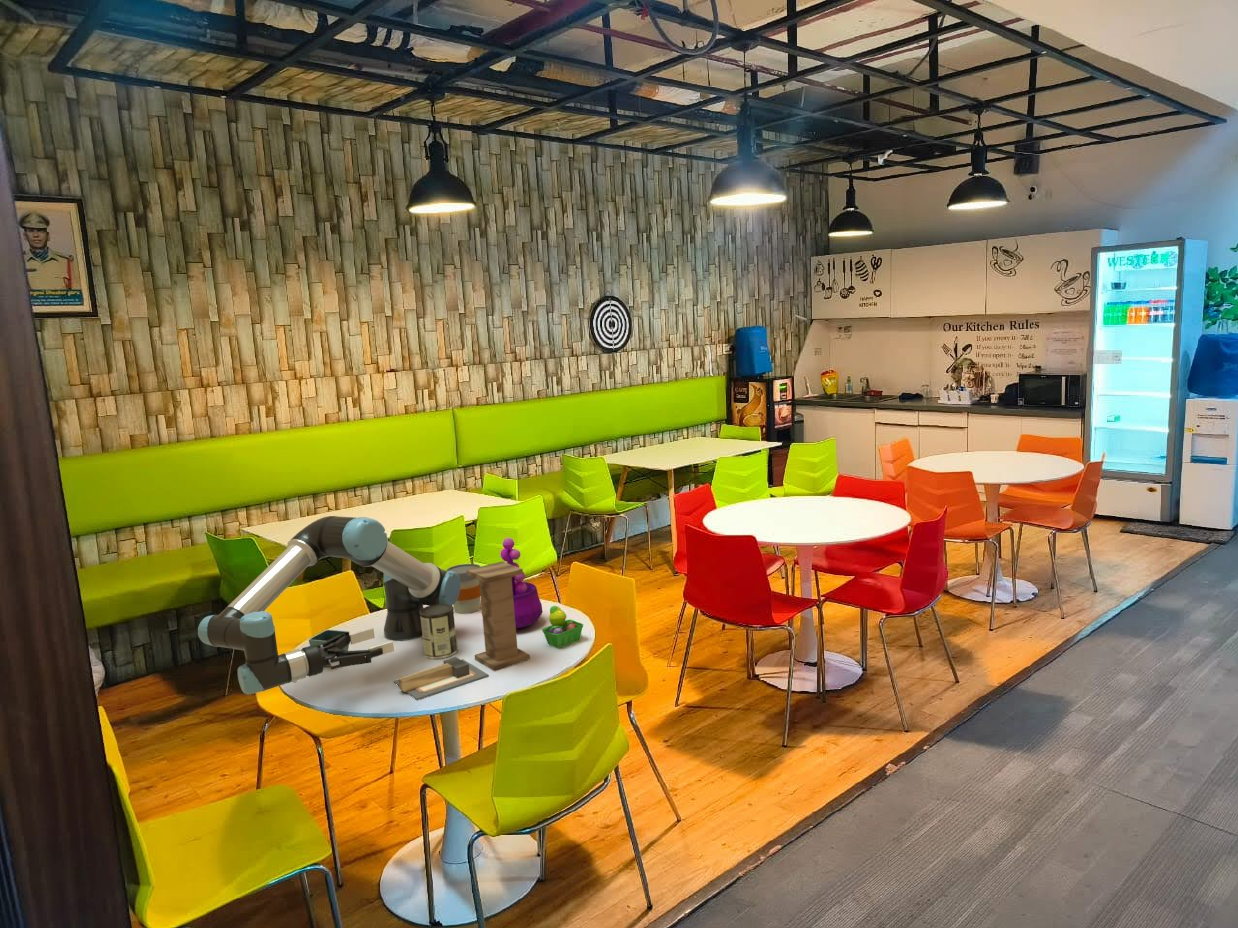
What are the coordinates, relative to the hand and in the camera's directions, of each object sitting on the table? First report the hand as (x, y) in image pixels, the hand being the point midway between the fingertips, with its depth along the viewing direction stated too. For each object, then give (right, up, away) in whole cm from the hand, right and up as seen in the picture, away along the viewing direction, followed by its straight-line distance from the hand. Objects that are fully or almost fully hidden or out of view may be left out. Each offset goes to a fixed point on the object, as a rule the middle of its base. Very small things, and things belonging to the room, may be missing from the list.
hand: (383, 639), depth 229 cm
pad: (+13, -14, +12) cm, 23 cm away
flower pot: (-24, -14, +29) cm, 40 cm away
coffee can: (+9, -11, +32) cm, 35 cm away
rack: (+29, -11, +24) cm, 39 cm away
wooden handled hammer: (+11, -14, +10) cm, 20 cm away
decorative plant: (+29, -6, +53) cm, 61 cm away
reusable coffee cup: (+10, -4, +71) cm, 72 cm away
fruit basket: (+46, -8, +35) cm, 59 cm away
